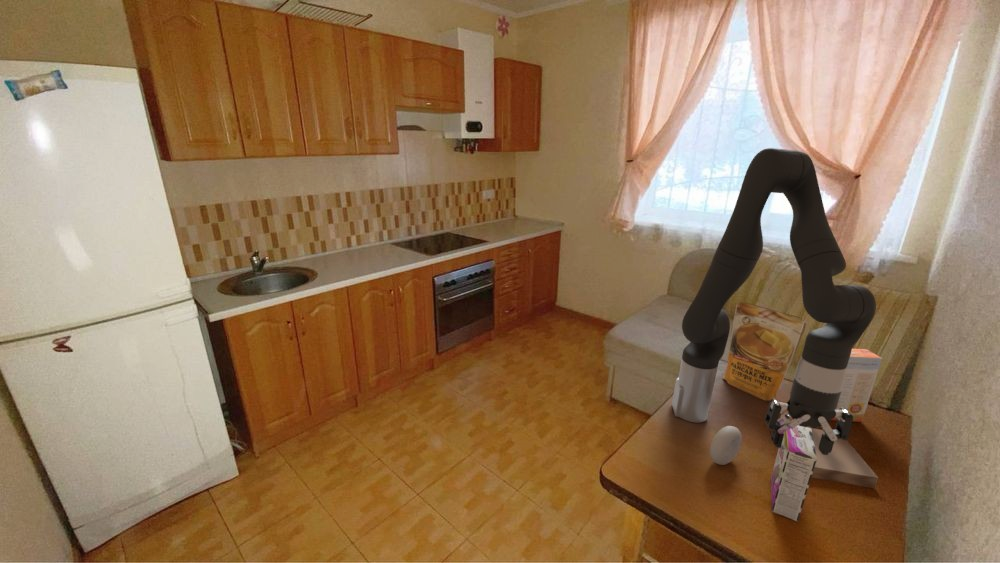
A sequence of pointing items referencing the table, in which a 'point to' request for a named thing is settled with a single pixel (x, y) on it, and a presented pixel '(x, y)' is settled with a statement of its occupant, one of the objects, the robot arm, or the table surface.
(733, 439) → the white oval stone
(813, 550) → the table surface
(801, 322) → the pancake mix bag
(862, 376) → the cracker box
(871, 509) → the table surface
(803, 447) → the candy bar box
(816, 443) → the metal panel
